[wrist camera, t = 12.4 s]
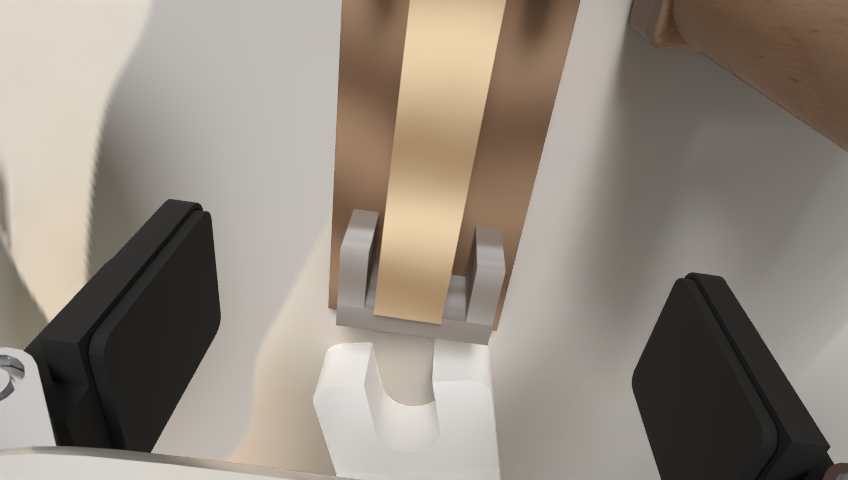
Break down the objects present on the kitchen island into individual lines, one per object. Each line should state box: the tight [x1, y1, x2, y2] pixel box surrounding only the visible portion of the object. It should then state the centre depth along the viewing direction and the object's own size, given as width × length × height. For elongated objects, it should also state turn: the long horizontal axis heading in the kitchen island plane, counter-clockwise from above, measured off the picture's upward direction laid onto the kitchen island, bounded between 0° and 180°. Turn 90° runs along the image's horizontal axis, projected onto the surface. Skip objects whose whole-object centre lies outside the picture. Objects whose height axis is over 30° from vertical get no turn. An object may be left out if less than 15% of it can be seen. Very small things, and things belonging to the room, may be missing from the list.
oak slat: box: [373, 0, 506, 324], centre depth 22 cm, size 16×3×4 cm, turn 172°
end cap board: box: [328, 0, 580, 345], centre depth 23 cm, size 24×9×4 cm, turn 173°
